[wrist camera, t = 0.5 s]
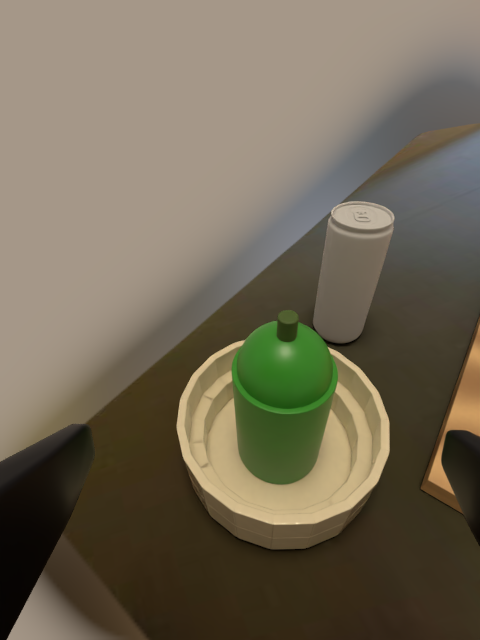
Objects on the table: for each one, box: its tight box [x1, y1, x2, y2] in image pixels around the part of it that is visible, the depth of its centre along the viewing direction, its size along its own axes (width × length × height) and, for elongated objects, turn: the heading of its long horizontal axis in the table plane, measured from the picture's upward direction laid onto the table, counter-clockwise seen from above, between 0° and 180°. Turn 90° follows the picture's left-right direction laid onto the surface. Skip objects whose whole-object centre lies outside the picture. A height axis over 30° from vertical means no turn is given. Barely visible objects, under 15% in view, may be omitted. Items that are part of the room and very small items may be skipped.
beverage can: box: [313, 202, 394, 343], centre depth 29 cm, size 5×5×12 cm
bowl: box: [176, 340, 390, 549], centre depth 23 cm, size 13×13×5 cm
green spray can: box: [231, 310, 338, 485], centre depth 20 cm, size 6×6×12 cm
